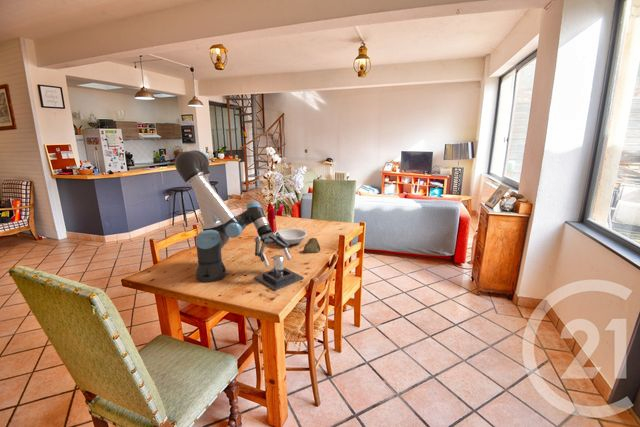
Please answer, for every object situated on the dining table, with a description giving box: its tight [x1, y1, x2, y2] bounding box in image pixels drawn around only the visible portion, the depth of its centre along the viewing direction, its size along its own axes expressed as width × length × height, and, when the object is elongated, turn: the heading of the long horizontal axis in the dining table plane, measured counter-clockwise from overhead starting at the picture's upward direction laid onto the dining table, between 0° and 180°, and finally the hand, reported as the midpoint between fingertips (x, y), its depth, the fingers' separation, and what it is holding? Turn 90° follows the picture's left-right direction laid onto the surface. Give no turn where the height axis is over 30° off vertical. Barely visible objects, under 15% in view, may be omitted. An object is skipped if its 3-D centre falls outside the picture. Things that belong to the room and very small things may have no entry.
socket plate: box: [254, 267, 305, 292], centre depth 155 cm, size 18×18×3 cm
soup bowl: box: [273, 228, 308, 245], centre depth 208 cm, size 24×24×7 cm
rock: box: [302, 237, 321, 253], centre depth 193 cm, size 11×9×10 cm
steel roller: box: [273, 254, 285, 279], centre depth 154 cm, size 5×5×11 cm
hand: (278, 262), depth 155 cm, fingers open, 13 cm apart
